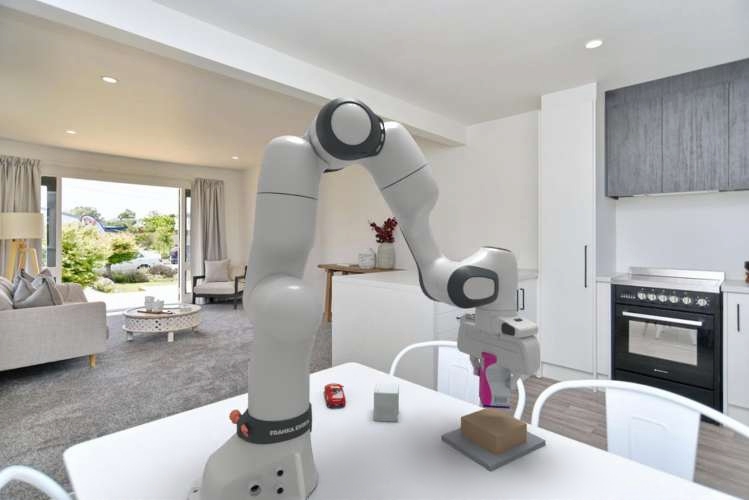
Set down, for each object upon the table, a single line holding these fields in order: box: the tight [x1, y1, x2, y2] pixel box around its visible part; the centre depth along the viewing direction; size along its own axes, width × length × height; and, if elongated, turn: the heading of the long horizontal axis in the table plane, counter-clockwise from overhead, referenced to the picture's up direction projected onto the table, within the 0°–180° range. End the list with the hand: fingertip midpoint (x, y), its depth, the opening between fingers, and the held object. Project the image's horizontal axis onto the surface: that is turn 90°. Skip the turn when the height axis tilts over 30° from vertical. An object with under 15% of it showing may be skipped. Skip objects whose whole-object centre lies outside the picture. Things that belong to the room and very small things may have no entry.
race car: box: [324, 383, 347, 408], centre depth 110 cm, size 13×5×4 cm, turn 10°
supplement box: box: [478, 352, 512, 410], centre depth 87 cm, size 6×6×12 cm
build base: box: [440, 407, 547, 472], centre depth 87 cm, size 18×14×5 cm
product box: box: [373, 383, 400, 423], centre depth 99 cm, size 6×6×7 cm
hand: (494, 381), depth 87 cm, fingers closed on supplement box, 8 cm apart
